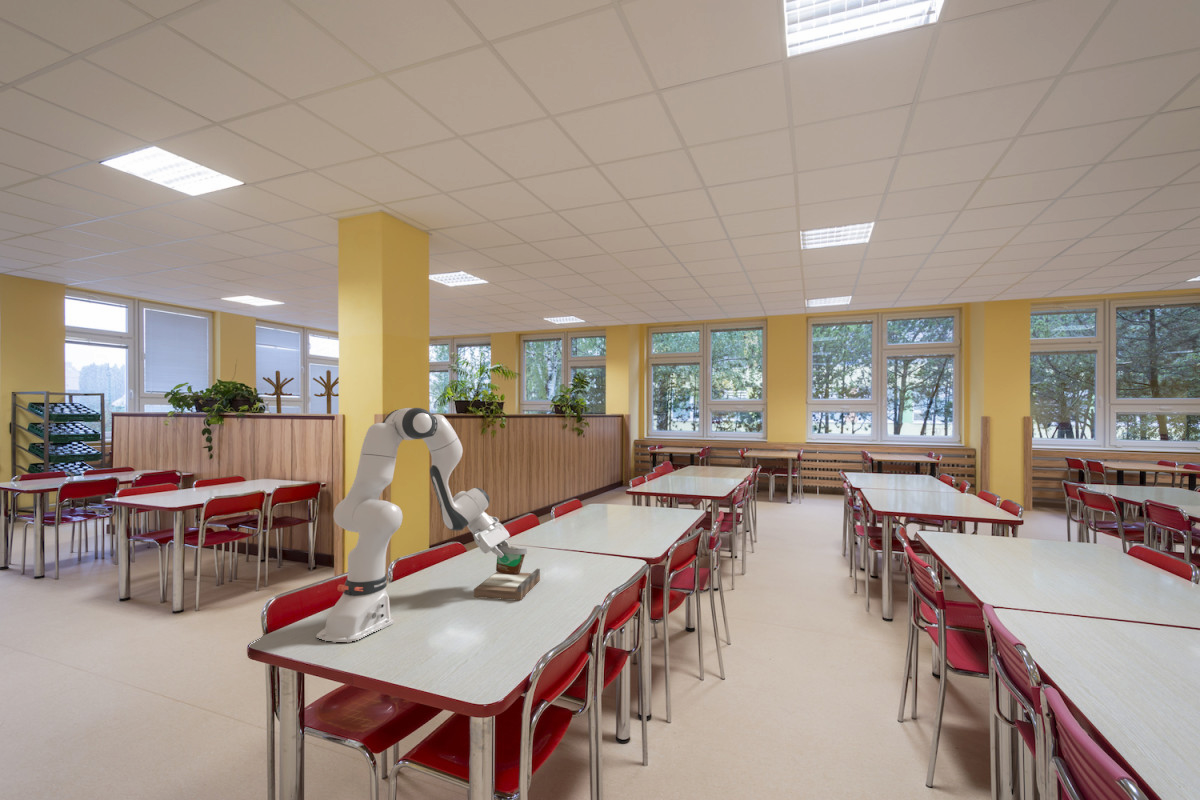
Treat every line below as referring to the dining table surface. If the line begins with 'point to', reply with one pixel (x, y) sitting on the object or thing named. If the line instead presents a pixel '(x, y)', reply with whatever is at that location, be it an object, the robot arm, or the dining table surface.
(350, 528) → the robot arm
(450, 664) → the dining table surface
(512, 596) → the block
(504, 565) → the food container
